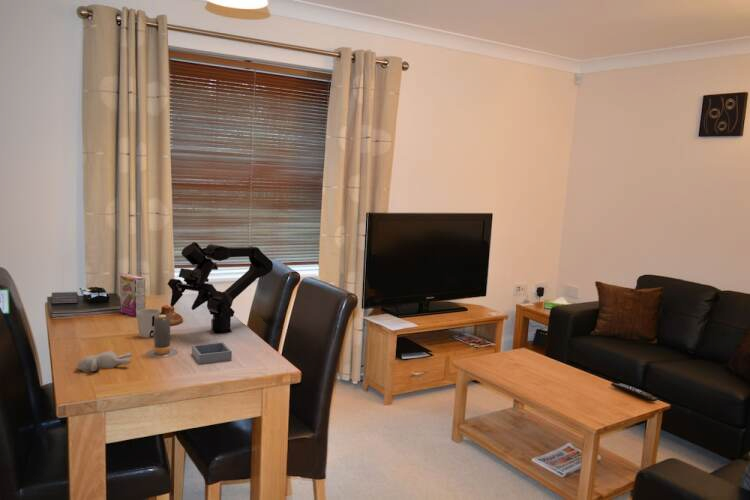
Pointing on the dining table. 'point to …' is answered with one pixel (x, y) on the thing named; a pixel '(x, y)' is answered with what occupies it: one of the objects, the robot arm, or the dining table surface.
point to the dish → (211, 353)
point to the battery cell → (161, 335)
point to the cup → (146, 321)
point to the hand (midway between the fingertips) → (181, 307)
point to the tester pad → (151, 354)
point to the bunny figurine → (102, 361)
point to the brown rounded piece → (171, 315)
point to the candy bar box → (132, 294)
